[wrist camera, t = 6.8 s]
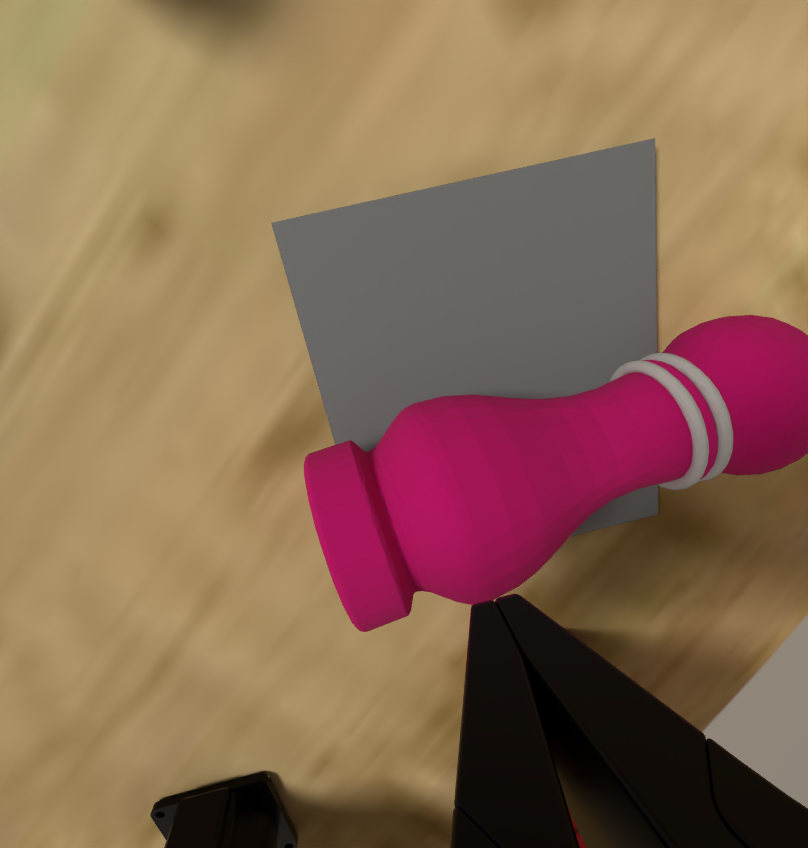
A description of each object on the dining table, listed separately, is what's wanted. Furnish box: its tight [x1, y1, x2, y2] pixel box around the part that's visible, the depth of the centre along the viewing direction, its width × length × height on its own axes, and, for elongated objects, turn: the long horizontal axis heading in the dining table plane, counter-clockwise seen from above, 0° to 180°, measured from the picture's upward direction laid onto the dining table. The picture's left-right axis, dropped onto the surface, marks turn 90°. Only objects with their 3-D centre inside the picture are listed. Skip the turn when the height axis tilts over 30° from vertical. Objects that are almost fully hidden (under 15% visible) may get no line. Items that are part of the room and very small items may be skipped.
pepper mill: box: [304, 315, 808, 632], centre depth 17 cm, size 7×7×20 cm
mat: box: [271, 138, 658, 537], centre depth 19 cm, size 16×14×1 cm
